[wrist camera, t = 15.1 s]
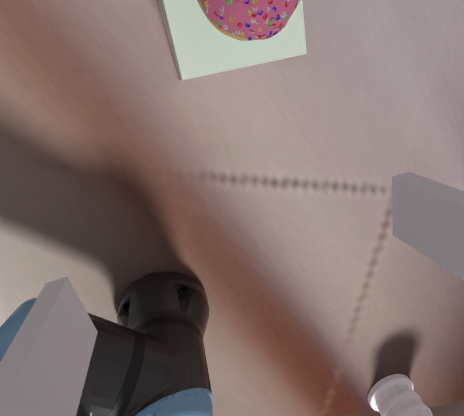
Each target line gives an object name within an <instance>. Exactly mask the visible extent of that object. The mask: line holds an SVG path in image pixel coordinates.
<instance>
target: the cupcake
mask: <svg viewBox="0 0 464 416" xmlns="http://www.w3.org/2000/svg"><path fill="white" fill-rule="evenodd" d="M197 1H198V3H199V5H200V7H201V9H202V11H203V13H204V14H205V16H206V17H207V19H208V20H209V21H210V23H211V24H212V25H213V26H214V27H215V28H216V29H217V30H219V31H220V32H221V33H223V34H225V35H227V36H229V37H232V38H234V39H237V40H241V41H253V40H264V39H269V38H271V37H272V36H274V35H276V34H277V33H279V32H280V31H281V30H282V29H283V28H284V27H285V26H286V24H287V22H288V20H289V19H290V17H291V15H292V14H293V12H294V10H295V9H296V8H297V5H298V4H299V2H300V0H197Z"/></svg>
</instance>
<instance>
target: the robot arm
mask: <svg viewBox="0 0 464 416" xmlns="http://www.w3.org/2000/svg"><path fill="white" fill-rule="evenodd" d="M392 211H393V235H394V236H396V237H397V238H399V239H400V240H402V241H403V242H405V243H407V244H408V245H410V246H411V247H413V248H414V249H416V250H417V251H419V252H420V253H422V254H424V255H425V256H427V257H428V258H430V259H431V260H433V261H434V262H436V263H437V264H439V265H440V266H442V267H444V268H445V269H447V270H448V271H450V272H451V273H453V274H454V275H456V276H457V277H459V278H461V279H462V280H464V191H462V190H459V189H456V188H453V187H451V186H448V185H445V184H442V183H439V182H436V181H433V180H431V179H428V178H425V177H422V176H419V175H416V174H414V173H411V172H407V173H403V174H400V175H397V176H394V177H392ZM208 317H209V306H208V301H207V296H206V293H205V291H204V290H203V288H202V287H201V286H200V285H199V284H198V283H197V282H196V281H195V280H193V279H192V278H190V277H188V276H186V275H183V274H179V273H174V272H160V273H154V274H150V275H147V276H145V277H143V278H141V279H139V280H137V281H136V282H134V283H133V284H132V285H131V286H130V287H129V288H128V289H127V290H126V291H125V292H124V294H123V296H122V298H121V300H120V304H119V308H118V314H117V322H118V324H116V323H114V322H111V321H108V320H106V319H103V318H100V317H98V316H95V315H93V314H90V313H87V311H86V310H85V308H84V306H83V304H82V302H81V301H80V299H79V297H78V295H77V293H76V291H75V290H74V288H73V286H72V284H71V282H70V281H69V279H68V277H65V278H62V279H59V280H55V281H52V282H49V283H46V284H45V286H44V288H43V289H42V291H41V293H40V295H39V296H38V298H33V299H30V300H28V301H26V302H24V303H23V304H22V305H20V306H19V307H18V308H17V309H16V310H15V311H14V313H13V314H12V315H11V316H10V317H9V318H8V319H7V320H6V321H5V323H4V324H3V325H2V326H1V327H0V416H213V407H212V404H213V396H212V392H211V386H210V380H209V374H208V368H207V362H206V355H205V349H204V344H203V337H204V333H205V329H206V325H207V321H208Z"/></svg>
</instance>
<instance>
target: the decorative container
mask: <svg viewBox="0 0 464 416" xmlns="http://www.w3.org/2000/svg"><path fill="white" fill-rule="evenodd" d="M368 402H369V404H370V405H371V407H372V408H373V409H374V410H375V411H378V412H380V414H381V416H433V415H432V412H431V410H430V409H429V408H428V407H427V406H426V405H425V404H423V402H422V401H421V398H420V396H419V395H418V394H417V393H416V392H414V391H413V383H412V382H411V381H410V379H409V378H408V377H407V376H406V375H403V374H392V375H389V376H386V377H385V378H383V379H381V380H379V381H378V382H377V383H376V384H375V385H374V386H373V387H372V388H371V390H370V391H369V394H368Z"/></svg>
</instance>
